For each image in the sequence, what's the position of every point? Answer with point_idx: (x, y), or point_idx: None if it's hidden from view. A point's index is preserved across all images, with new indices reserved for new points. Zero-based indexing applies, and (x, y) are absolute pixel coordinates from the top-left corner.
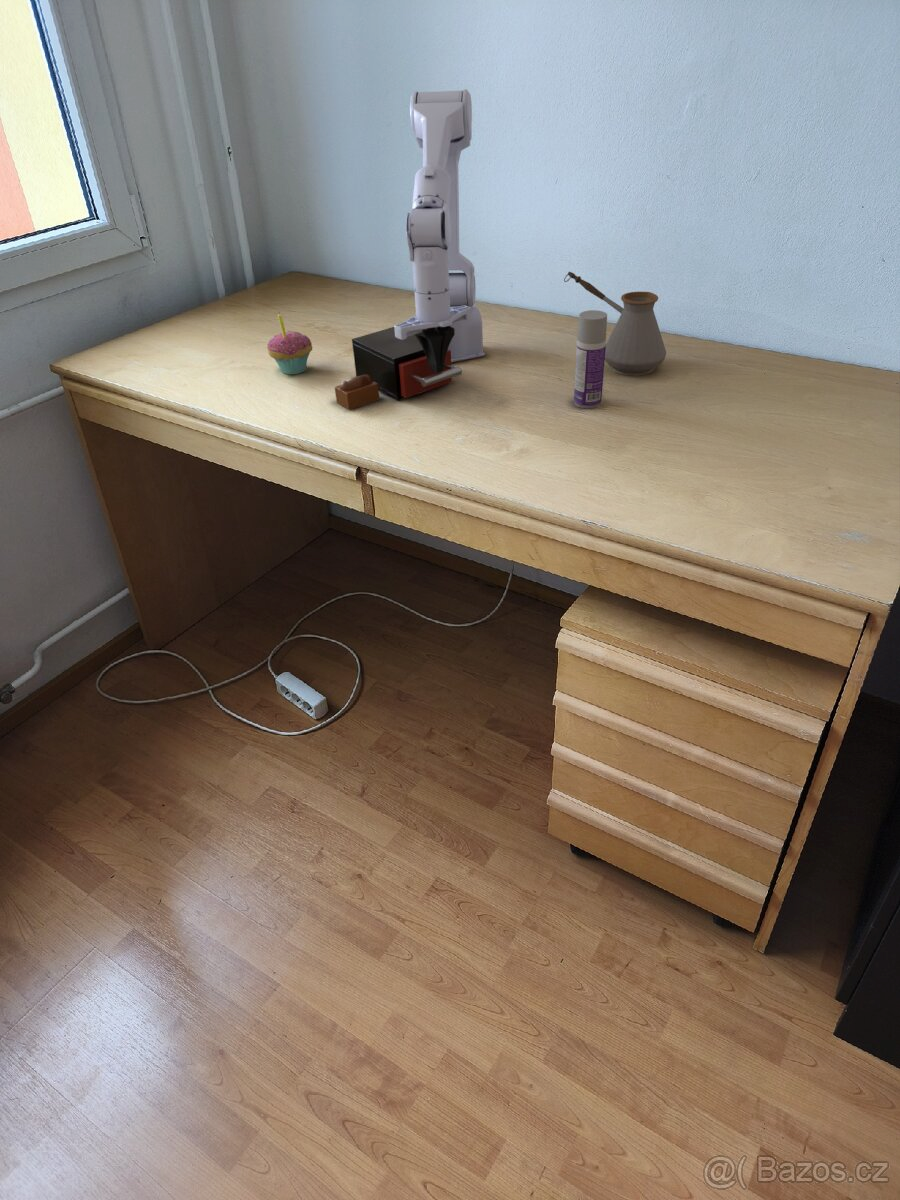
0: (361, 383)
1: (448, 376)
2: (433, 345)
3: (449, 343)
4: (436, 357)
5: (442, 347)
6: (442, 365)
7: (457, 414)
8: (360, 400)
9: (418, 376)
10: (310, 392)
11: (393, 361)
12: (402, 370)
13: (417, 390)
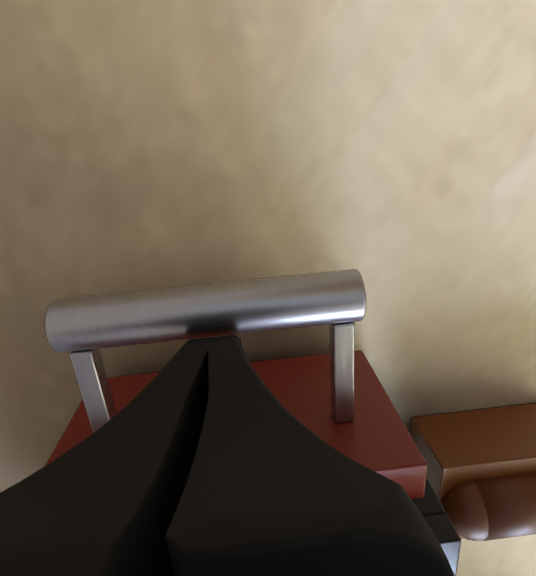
0: (516, 488)
1: (171, 287)
2: (329, 452)
3: (59, 461)
4: (251, 383)
5: (173, 435)
6: (189, 351)
7: (237, 77)
8: (508, 422)
9: (338, 371)
10: (528, 563)
11: (453, 526)
12: (414, 445)
13: (296, 365)
